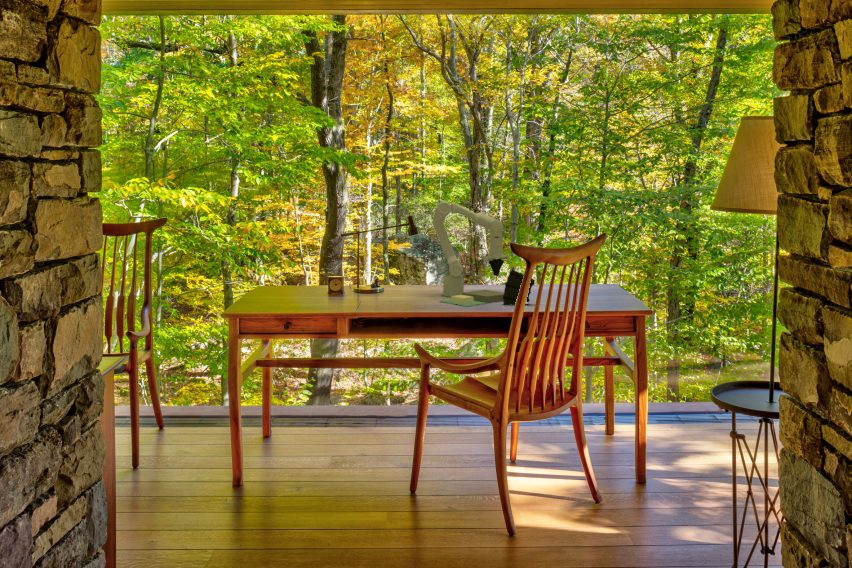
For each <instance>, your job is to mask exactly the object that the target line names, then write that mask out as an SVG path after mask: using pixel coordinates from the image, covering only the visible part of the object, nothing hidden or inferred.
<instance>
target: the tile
mask: <svg viewBox="0 0 852 568" xmlns="http://www.w3.org/2000/svg"><path fill="white" fill-rule="evenodd" d="M450 299H451V302H455V303H461V304H467V303H474V297H472V296H465V295H456V296H451V297H450Z"/></svg>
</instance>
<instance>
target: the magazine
mask: <svg viewBox="0 0 852 568" xmlns="http://www.w3.org/2000/svg"><path fill="white" fill-rule="evenodd" d="M508 274H509V275H508V277H507V280H506V281H505V283H504V285H505V287H504V291H503V293H504V295H503V299H504V301H502V303H503V305H504V306H516V305H515V302H516V299H517V296H518V293H519V289H520V285H521V283H522V279H523V276H524V275H525V274H523V273H520V272H519V271H517V270H514V269H513V268H511V271H509V273H508ZM535 282H536V280H535V279H534V278H531V283H530V288H529V293H528V297H527V302H529V303H530V300H531V299H530V294H531V293H532V291H531V290H532V287H534V286H535ZM510 304H512V305H510Z"/></svg>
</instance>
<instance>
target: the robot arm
mask: <svg viewBox="0 0 852 568" xmlns="http://www.w3.org/2000/svg"><path fill="white" fill-rule="evenodd" d="M450 213H451V214H459V215H462V216H465V217H466V218H469V219H472V220H473V221H474V224H475V225H478V226H480V227H482V228H483V229H487V230H490V236H489V255H487V256H483V262H488V264H489V265H490V268H491V270H492V271H491V272H492V275H493V277H499V275H500V271H501V268H502V266H503V264H504V263H505V262H504V261H505V260H510V255H509V254H503V253H504V251H503V249H504V248H503V244H504V243H503V240H504V237H503V230H504V227H505V226H504V224H503V222H502V221H501V220H499V219H496V217H494V216H490V215H488V214H487V213H486V212H484V211H482V212H477V213H476V212H474V211H472V210H470V209H468V208H466V207H464V206H462V205H460V204H457V203H455V202H454V203H453V202H449V201H447V200H441V201H440V202H438V204H437V206H436V207H435V210H434V214H433V218H432V219H433V220H432V226H433V229H434V231H435V233H436V236H437V238H438V241H439V243H440V246H441V248H442V251H443V253H444V256H445V258H446V261H447V264H448V271H449V274H448V275H447V276H446V277H444V279H443V286H442V289H443V291H442V292H443V293H442V294H441V296H442V297H443V296H444V297H450V298H451V296H456V295H463V293H464V292H465V287H464V286H465V285H464V283H465V281H464V279H465V277H464V275H463V272H464V268H463V265H462V263H461V262H460V261H459V260H458V258H457V256H456V252H455V250H454V248H453V244H452V243H451V241H450V237H449V235H448V232H447V230H446V228H445V225H444V222H445V220H446V218H447V216H448V215H449V214H450Z"/></svg>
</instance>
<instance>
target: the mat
mask: <svg viewBox="0 0 852 568" xmlns="http://www.w3.org/2000/svg"><path fill="white" fill-rule="evenodd" d="M439 301H440V302H439V303H443V302H445V303H444V304H448V303H451V304H450V305H454V304H457V305H456V306H460V305H461V306H460V307H465V306H466V307H467V306H468V307H474V306H473V305H476V306H481V305H480V304H483V305H488V303H485V302H479V301H474V303H467V304H461V303H455V302H451V298H450V299H445V300H444V299H443V300H439ZM466 307H465V308H466Z"/></svg>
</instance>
